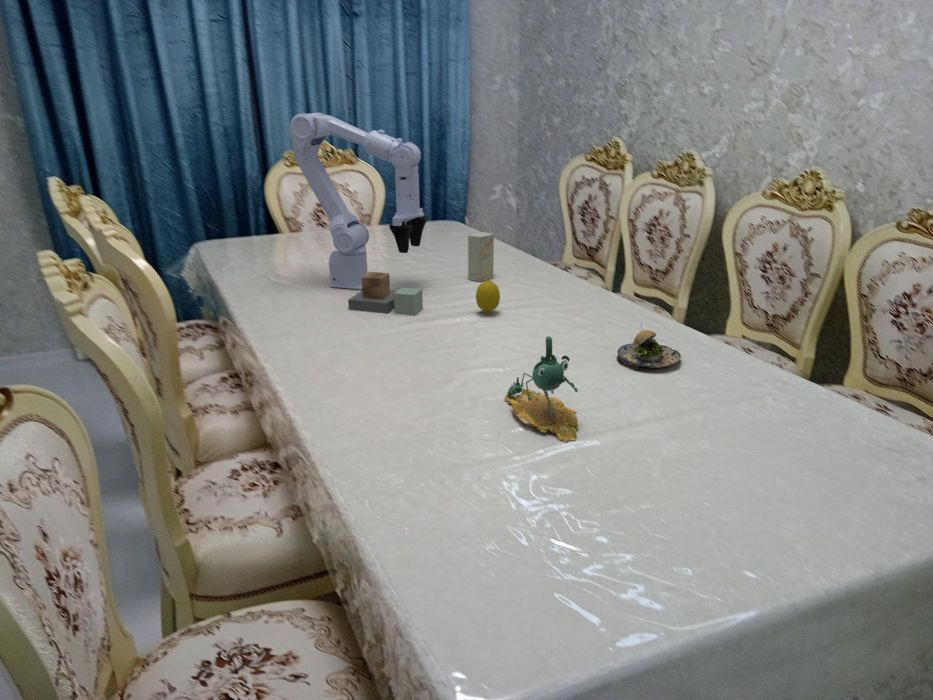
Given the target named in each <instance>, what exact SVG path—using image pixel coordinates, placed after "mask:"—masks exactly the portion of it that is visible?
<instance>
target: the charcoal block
mask: <svg viewBox="0 0 933 700" xmlns="http://www.w3.org/2000/svg"><path fill="white" fill-rule="evenodd" d="M396 291H397V290H392V289H390V294H389V295H387V296H386V297H385V298H384V299H371V298H363V295H362V290H361V291H359V292H358V293H356V294H354V296H352V297H350V298H348V299H347V303H348V310H349V311H356V312H357V311H358V312H367V313H378V314H386V315H387V314H389V313H391V312H392V311H394V310H395V307H394V293H395V292H396Z"/></svg>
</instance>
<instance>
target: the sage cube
mask: <svg viewBox="0 0 933 700" xmlns="http://www.w3.org/2000/svg"><path fill="white" fill-rule="evenodd" d="M395 291H396V292H395V293H394V307H395V309H394V314H395V315H403V314H405V316H412V315H413V316H417V315H418V314H419V313H420V312H421V311H422V310H423V309H424V306H423V305H424V304H423V301H424V300H423V289H422V288H415V287H413V288H412V287H405V286H402V287H401V288H399V289H398V290H395Z"/></svg>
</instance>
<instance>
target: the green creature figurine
mask: <svg viewBox="0 0 933 700" xmlns="http://www.w3.org/2000/svg"><path fill="white" fill-rule="evenodd" d="M561 360H562V361H561V362H559V361H558V359H557V357H556V355H555V354H553V339H552V337H551V336H546V337H545V356H543V355H541V356H540V360H538V361H537V362H536V363H535V365H534V367H533V369H532V375H530V374H528V373H526V372H523V375H522V378H521V383H520V380H519V379H520V378H519V377H518V376H516V382H513V384H511V386H510V387H509V388H508V390H507V393H506V394H505V396H504V401H506V402H507V403H508V404H511V407H510V409H512V411H513V412H514V415H515V416H516V417H517V418H518V419H519V420H520V421H521V422H522V423H523V424H525V425H526V426H532V428H535V429H536V430H537V431H540V432H541V433H543V434H546V433H547V432H548V431H549V432H551V433H552V434H555V436H556V438H557V439H558V440H560V441H563V442H565V443H568V442H569V441H574V442H575V441H576V439H577V438H578V437H577V433H576V431H577V430H576V429H577V428H579V423H578V419H577V416H576V414H577V413H578V412H577V411H575V410H574V409H571V408H569V407H567V406H566V405H565V404H564V402H563V401H561V400H560V398H557V397H554V396H549V393H548V391H550V393H551V394H552V395H554V392H555V391H554V390H556V389H558V388H559V387H560V386H561V385H562V384H563V383H565V382H566V383H567V384H568V385H569V386H570V387H571V388H572V389H573V390H574V391H575V393H578V391H579V390H578V388H577V387H575V386H576V385H575V384H574V382H570V380H569V379H567V377H568V376H565V371H567V370H568V368H569V363H568V362H569V361H570V357H569V356H567V355H562V357H561ZM525 376H527V377H530V379H529V380H527V381H526V382H525V383H524V377H525ZM531 381H533V383H534V385H535V386H536V387H537V388H538V389H540V390H542V391H543V393H544V394H542V393H541V392H537V391H536V390H532V389H530V388H529V387H528V384H529V383H530V382H531ZM524 385H526V386H525V387H526V388H523V387H524Z"/></svg>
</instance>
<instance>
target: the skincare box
mask: <svg viewBox="0 0 933 700" xmlns="http://www.w3.org/2000/svg"><path fill="white" fill-rule="evenodd" d="M494 235H495V234H494V233H491V232H484V231H480V232H476V233H473V234H472V233H471V234H468V236H467V241H468V243H467V244H468V246H467V248H468V250H467V252H468V253H467V255H468V256H467V257H468V260H467V262H468V263H467V264H468V265H467V269H468V273H467V274H468V275H467V278H468V280H470V281H473V282H481V283H482V282H485V281H486V280H490V279H492V278H494V244H495V243H494V241H495V238H494V237H495V236H494Z"/></svg>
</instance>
